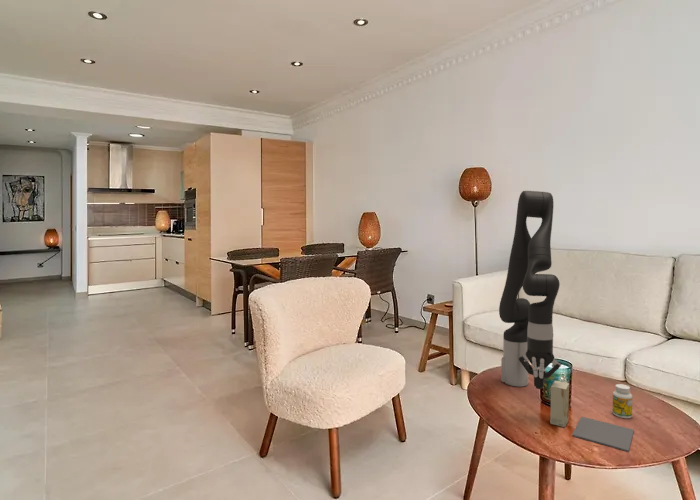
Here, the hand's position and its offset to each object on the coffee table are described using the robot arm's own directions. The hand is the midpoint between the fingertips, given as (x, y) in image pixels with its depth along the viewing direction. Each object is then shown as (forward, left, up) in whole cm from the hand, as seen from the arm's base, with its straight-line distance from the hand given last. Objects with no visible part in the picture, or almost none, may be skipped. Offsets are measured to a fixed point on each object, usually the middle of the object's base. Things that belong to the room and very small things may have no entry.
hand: (539, 388), depth 135 cm
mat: (+18, 0, -10) cm, 20 cm away
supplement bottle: (+21, +17, -10) cm, 29 cm away
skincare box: (+6, 0, -10) cm, 12 cm away
